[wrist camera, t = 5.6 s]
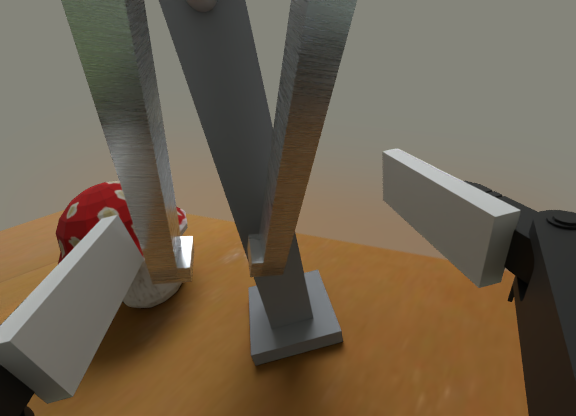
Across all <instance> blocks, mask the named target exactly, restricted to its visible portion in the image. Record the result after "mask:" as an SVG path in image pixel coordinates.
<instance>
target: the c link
mask: <svg viewBox="0 0 576 416" xmlns="http://www.w3.org/2000/svg"><path fill="white" fill-rule="evenodd" d="M61 1H62V4H63V7H64V10H65V14H66V17H67V20H68V23H69V26H70V29H71V32H72V35H73V38H74V42H75V45H76V48H77V50H78V54H79V57H80V60H81V63H82V66H83V70H84V73H85V76H86V79H87V82H88V85H89V88H90V91H91V94H92V97H93V100H94V104H95V107H96V110H97V113H98V116H99V119H100V122H101V125H102V128H103V131H104V134H105V138H106V141H107V144H108V147H109V150H110V153H111V156H112V159H113V162H114V166H115V169H116V172H117V175H118V178H119V181H120V184H121V187H122V191H123V194H124V197H125V200H126V203H127V206H128V209H129V212H130V215H131V218H132V222H133V225H134V228H135V231H136V234H137V237H138V240H139V243H140V246H141V249H142V253H143V256H144V259H145V262H146V265H147V268H148V271H149V274H150V277H151V280H152V284H153V285H154V284H167V283H180V282H192V273H193V260H194V244H193V236H186V237H181V234H180V227H179V221H178V214H177V208H176V202H175V196H174V190H173V183H172V176H171V170H170V163H169V157H168V151H167V144H166V138H165V131H164V125H163V119H162V112H161V106H160V100H159V93H158V87H157V80H156V74H155V68H154V61H153V55H152V49H151V42H150V36H149V29H148V24H147V16H146V10H145V4H144V0H61ZM356 2H357V0H291V5H290V12H289V19H288V27H287V34H286V41H285V49H284V56H283V63H282V70H281V77H280V85H279V92H278V99H277V107H276V114H275V121H274V128H273V135H272V142H271V150H270V157H269V164H268V171H267V179H266V186H265V193H264V200H263V208H262V215H261V222H260V229H259V234H249V236H248V246H247V251H248V261H249V271H250V277H261V276H274V275H283V273H284V269H285V265H286V262H287V258H288V254H289V251H290V247H291V243H292V239H293V236H294V232H295V228H296V225H297V221H298V217H299V213H300V210H301V206H302V202H303V199H304V195H305V191H306V187H307V184H308V180H309V176H310V173H311V169H312V165H313V162H314V158H315V154H316V150H317V147H318V143H319V139H320V136H321V132H322V128H323V125H324V121H325V117H326V114H327V110H328V106H329V102H330V98H331V95H332V91H333V88H334V84H335V80H336V76H337V72H338V69H339V65H340V61H341V58H342V54H343V50H344V47H345V43H346V39H347V35H348V32H349V28H350V25H351V21H352V17H353V13H354V10H355V6H356Z"/></svg>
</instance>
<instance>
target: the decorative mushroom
mask: <svg viewBox="0 0 576 416" xmlns="http://www.w3.org/2000/svg"><path fill="white" fill-rule="evenodd" d="M176 208H177V214H178V221H179V227H180V234H181V236H182V234H183V233H184V232H185V230H186V229H187V219H186V214H185V211H184V210H182V209H180V208H178V207H176ZM115 215H118V216H119V217H120V219H121V221H122V222H123V224H124V226H125V227H126V229H127V231H128V232H129V234H130V236H131V238H132V239H133V241H134V243H135V244H136V246H137V248H138V249H139V251H140V253H141V255H142V256H143V253H142V249H141V246H140V243H139V240H138V237H137V234H136V231H135V228H134V225H133V222H132V218H131V215H130V212H129V209H128V206H127V203H126V200H125V197H124V194H123V191H122V187H121V184H120V181H110V182H104V183H101V184H98V185H95V186H92V187H90V188H88V189H86V190H85V191H83V192H82V193H80V194H79V195H78V196H77V197H75V198H74V199H73V200H72V201H71V202H70V203H69V205H68V206H67V208H66V209H65V211H64V212H63V214H62V215H61V217H60V218H59V222H58V226H57V230H56V236H57V240H58V243H59V247H60V251H61V253H60V257H59V262H58V264H59V263H60V262H61V261H62V260H63V259H64V258H65V257H66V256H67V255H68V254H69V253H70V252H71V251H72V250H73V248H74V247H75V246H76V245H77V244H78V243H79V242H80V241H81V240H82V239H83V238H84V237H85V236H86V235H87V234H88V233H89V232H90V230H91V229H92V228H93V227H94V226H95V225H96V224H97V223H98V222H99V221H100V220H101V219H102V218H106V217H110V216H115ZM143 258H144V256H143ZM181 284H182V282H180V283H167V284H154V285H153V284H152V280H151V277H150V274H149V271H148V268H147V265H146V262H145V259H144V260H143V262H142V264H141V266H140V268H139V270H138V272H137V274H136V276H135V278H134V280H133V282H132V284H131V286H130V287H129V289H128V291H127V293H126V295H125V297H124V299H123V302H124V303H125V304H126V305H127V306H129V307H135V308H151V307H153V306H155V305H158V304H160V303H162V302H165V301H166V300H167V299H168V298H170V297H171V296H172V295H173V294H175V293H176V292H177V290H178V289H179V287H180V285H181Z"/></svg>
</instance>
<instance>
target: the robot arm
mask: <svg viewBox="0 0 576 416" xmlns="http://www.w3.org/2000/svg"><path fill="white" fill-rule="evenodd" d="M382 155H383V200H384V201H385V202H386V203H387V204H388V205H389V206H390V207H392V208H393V209H394V210H395V211H396V212H397V213H398V214H399V215H400V216H401V217H402V218H403V219H404V220H405V221H407V222H408V223H409V224H410V225H411V226H412V227H413V228H414V229H415V230H416V231H417V232H418V233H420V234H421V235H422V236H423V237H424V238H425V239H426V240H427V241H428V242H429V243H430V244H432V245H433V246H434V247H435V248H436V249H437V250H438V251H439V252H440V253H441V254H442V255H444V256H445V257H446V258H447V259H448V260H449V261H450V262H451V263H452V264H453V265H454V266H455V267H457V268H458V269H459V270H460V271H461V272H462V273H463V274H464V275H465V276H466V277H467V278H469V279H470V280H471V281H472V282H473V283H474V284H475V285H476V286H477V287H478V288H481V287H484V286H488V285H492V284H496V283H499V282H501V280H502V276H503V273H504V269H505V268H506V269H508V270H509V271H510V272H512V273H513V274H514V275H515V278H514V281H513V285H512V288H511V291H510V294H509V298H508V301H510V302H512V301H513V298H515V306H516V314H517V323H518V331H519V339H520V347H521V355H522V364H523V372H524V380H525V388H526V396H527V405H528V413H529V416H576V213H574V212H567V211H561V210H546V211H541V212H537V211H535V210H532V209H531V208H528V207H526V206H524V205H522V204H520V203H518V202H516V201H514V200H512V199H510V198H508V197H505V196H502V195H501V194H499V193H497V192H495V191H494V192H493V191H492V190H490V189H489V188H487V187H485V186H483V185H480V184H477V183H472V182H468V181H462V180H459V179H458V178H456V177H454V176H451V175H450V174H448V173H446V172H444V171H442V170H440V169H438V168H436V167H434V166H432V165H429V164H428V163H426V162H424V161H422V160H420V159H418V158H416V157H413V156H412V155H410V154H408V153H406V152H404V151H402V150H400V149H398V148H396V149H392V150H387V151H383V154H382ZM143 260H144V258H143V256H142V255H141V253H140V251H139V249H138V248H137V246H136V244H135V243H134V241H133V239H132V238H131V236H130V234H129V232H128V231H127V229H126V227H125V226H124V224H123V222H122V221H121V219H120V217H119V216H118V215H115V216H110V217H106V218H102V219H101V220H100V221H99V222H98V223H97V224H96V225H95V226H94V227H93V228H92V229H91V230H90V232H89V233H88V234H87V235H86V236H85V237H84V238H83V239H82V240H81V241H80V242H79V243H78V244H77V245H76V246H75V247H74V248H73V250H72V251H71V252H70V253H69V254H68V255H67V256H66V257H65V258H64V259H63V260H62V261H61V262H60V263H59V264H58V265H57V266H56V267H55V269H54V270H53V271H52V272H51V273H50V274H49V275H48V276H47V277H46V278H45V279H44V280H43V281H42V282H41V283H40V284H39V285H38V286H37V288H36V289H35V290H34V291H33V292H32V293H31V294H30V295H29V296H28V297H27V298H26V299H25V300H24V301H23V302H22V303H21V304H20V305H19V306H18V307H17V308H16V309H15V310H14V312H13V313H12V314H11V315H10V316H9V317H8V318H7V319H6V320H5V321H4V322H3V323H2V324H1V325H0V416H34V413H33V411H32V410H31V409H30V408H29V407H27V406H26V405H27V404H28V402H29V401H30V399H31V397H32V396H33V394H34V393H35V394H36V395H37V396H38V397H40V398H41V399H42V400H43V401H45V402H46V403H47V404H48V403H51V402H55V401H59V400H63V399H66V398H70V397H73V396H74V394H75V392H76V390H77V388H78V386H79V384H80V382H81V380H82V378H83V376H84V374H85V372H86V370H87V369H88V367H89V365H90V363H91V361H92V359H93V357H94V355H95V353H96V351H97V349H98V347H99V345H100V343H101V341H102V340H103V338H104V336H105V334H106V332H107V330H108V328H109V326H110V324H111V322H112V320H113V318H114V316H115V314H116V313H117V311H118V309H119V307H120V305H121V303H122V301H123V299H124V297H125V295H126V293H127V291H128V289H129V287H130V286H131V284H132V282H133V280H134V278H135V276H136V274H137V272H138V270H139V268H140V266H141V264H142V262H143Z"/></svg>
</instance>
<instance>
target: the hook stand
mask: <svg viewBox="0 0 576 416" xmlns="http://www.w3.org/2000/svg"><path fill="white" fill-rule="evenodd" d="M159 2H160V5H161V8H162V11H163V14H164V17H165V20H166V22H167V25H168V28H169V31H170V34H171V37H172V40H173V43H174V46H175V49H176V52H177V54H178V57H179V60H180V63H181V66H182V69H183V72H184V75H185V78H186V81H187V84H188V86H189V89H190V93H191V95H192V98H193V101H194V104H195V107H196V110H197V113H198V116H199V118H200V121H201V125H202V128H203V130H204V133H205V136H206V139H207V142H208V145H209V148H210V151H211V154H212V157H213V160H214V163H215V165H216V168H217V171H218V174H219V177H220V180H221V183H222V186H223V188H224V192H225V195H226V198H227V200H228V203H229V206H230V209H231V212H232V215H233V218H234V221H235V224H236V227H237V230H238V233H239V236H240V238H241V241H242V244H243V247H244V250H245V253H246V256H247V259H248V251H247V246H248V236H249V234H259V229H260V222H261V215H262V208H263V200H264V193H265V186H266V179H267V171H268V164H269V157H270V150H271V142H272V135H273V127H272V123H271V118H270V113H269V109H268V104H267V99H266V95H265V90H264V85H263V81H262V76H261V71H260V67H259V63H258V58H257V53H256V48H255V44H254V39H253V34H252V30H251V25H250V20H249V16H248V11H247V6H246V2H245V0H159ZM248 262H249V261H248ZM254 279H255V282H256V285H257V286H253V287H249V311H250V339H251V357H252V359H253V361H254V363H255V366H256V365H260V364H263V363H267V362H271V361H274V360H278V359H281V358H285V357H289V356H292V355H296V354H300V353H303V352H307V351H310V350H314V349H318V348H321V347H325V346H329V345H332V344H336V343H340V342H343V338H342V331H341V328H340V326H339V323H338V321H337V318H336V316H335V313H334V310H333V308H332V305H331V303H330V300H329V297H328V295H327V292H326V290H325V287H324V284H323V282H322V279H321V277H320V274H319V272H318V270H315V271H311V272H307V273H304V271H303V267H302V262H301V257H300V253H299V248H298V243H297V239H296V234H295V232H294V236H293V239H292V243H291V247H290V251H289V254H288V258H287V262H286V265H285V269H284V273H283V275H274V276H261V277H254Z"/></svg>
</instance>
